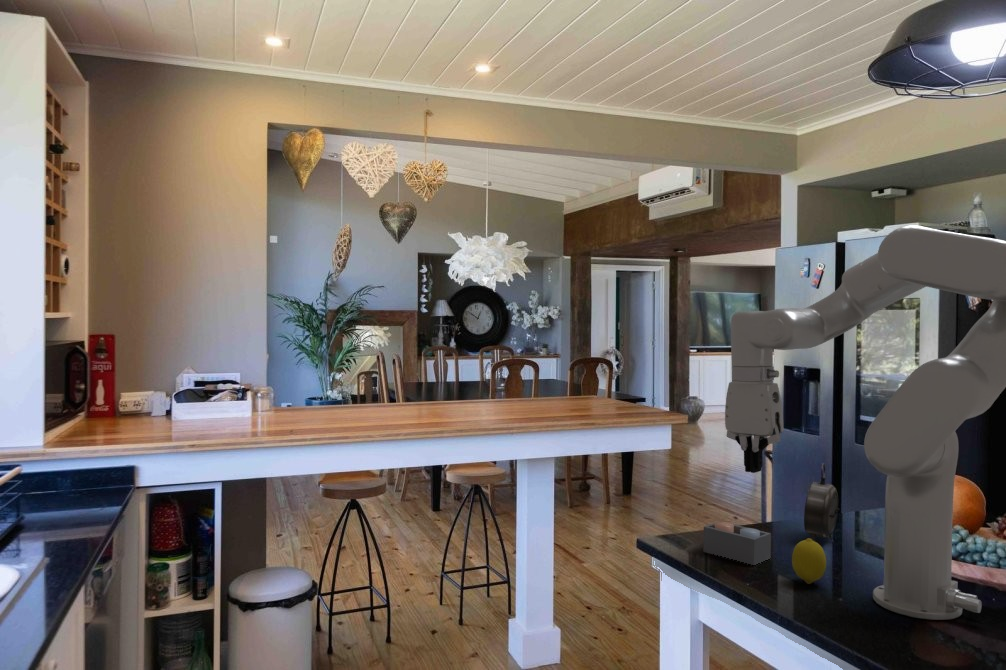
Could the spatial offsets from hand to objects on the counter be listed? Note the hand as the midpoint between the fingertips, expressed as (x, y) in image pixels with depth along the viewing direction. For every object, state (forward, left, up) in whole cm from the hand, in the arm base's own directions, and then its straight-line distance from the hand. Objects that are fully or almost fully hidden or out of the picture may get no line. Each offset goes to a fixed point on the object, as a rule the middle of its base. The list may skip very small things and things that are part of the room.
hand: (753, 471), depth 140 cm
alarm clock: (-3, -22, -17) cm, 28 cm away
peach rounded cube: (+6, 0, -16) cm, 17 cm away
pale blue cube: (+1, 0, -16) cm, 16 cm away
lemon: (-13, +4, -17) cm, 22 cm away
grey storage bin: (+3, 0, -17) cm, 17 cm away
